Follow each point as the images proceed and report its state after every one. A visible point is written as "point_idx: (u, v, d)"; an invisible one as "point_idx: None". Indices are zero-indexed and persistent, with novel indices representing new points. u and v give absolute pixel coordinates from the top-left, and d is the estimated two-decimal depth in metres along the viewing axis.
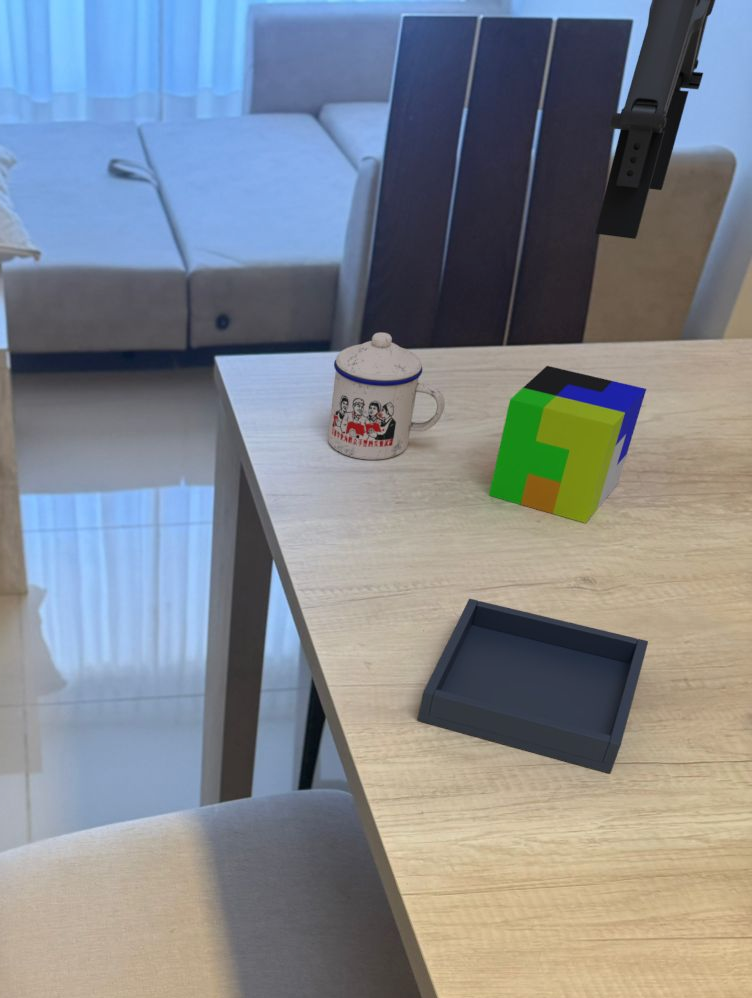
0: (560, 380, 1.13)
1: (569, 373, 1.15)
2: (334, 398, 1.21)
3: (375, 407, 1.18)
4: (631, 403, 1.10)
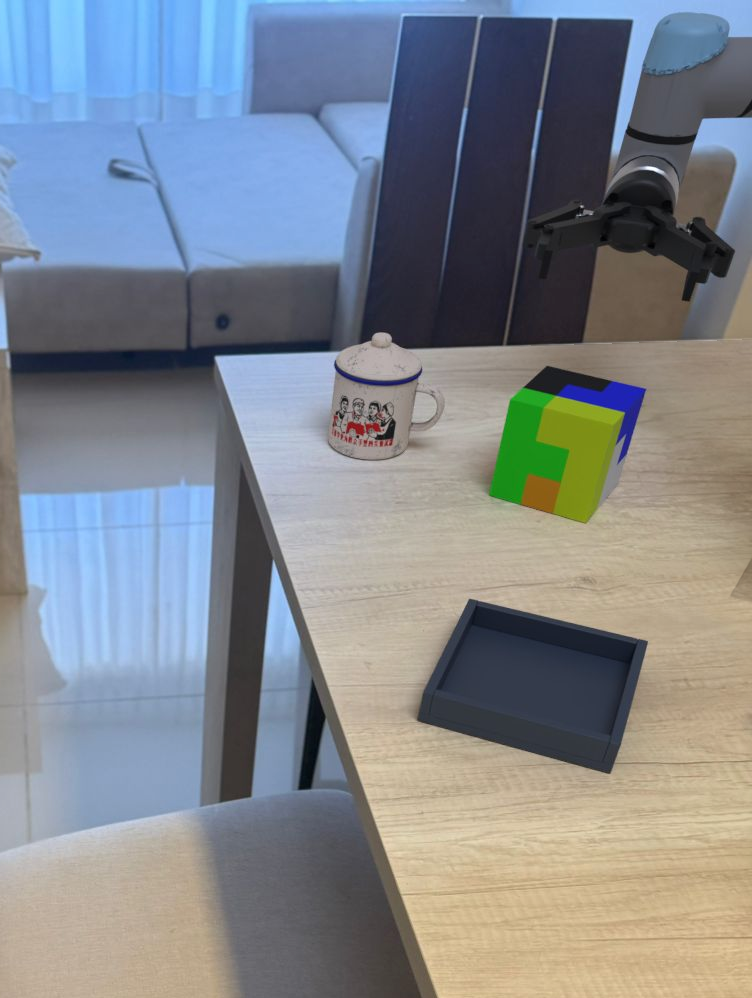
0: (560, 380, 1.13)
1: (569, 373, 1.15)
2: (334, 398, 1.21)
3: (375, 407, 1.18)
4: (631, 403, 1.10)
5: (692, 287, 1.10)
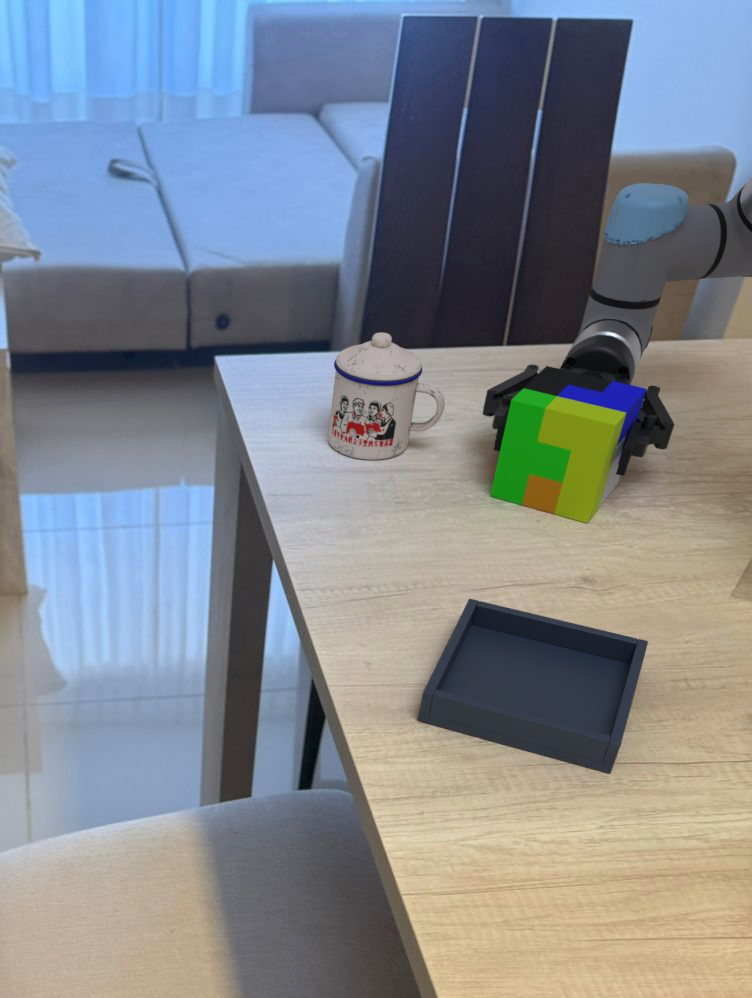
0: (561, 380, 1.13)
1: (569, 373, 1.15)
2: (334, 398, 1.21)
3: (375, 407, 1.18)
4: (632, 403, 1.10)
5: (626, 462, 1.09)
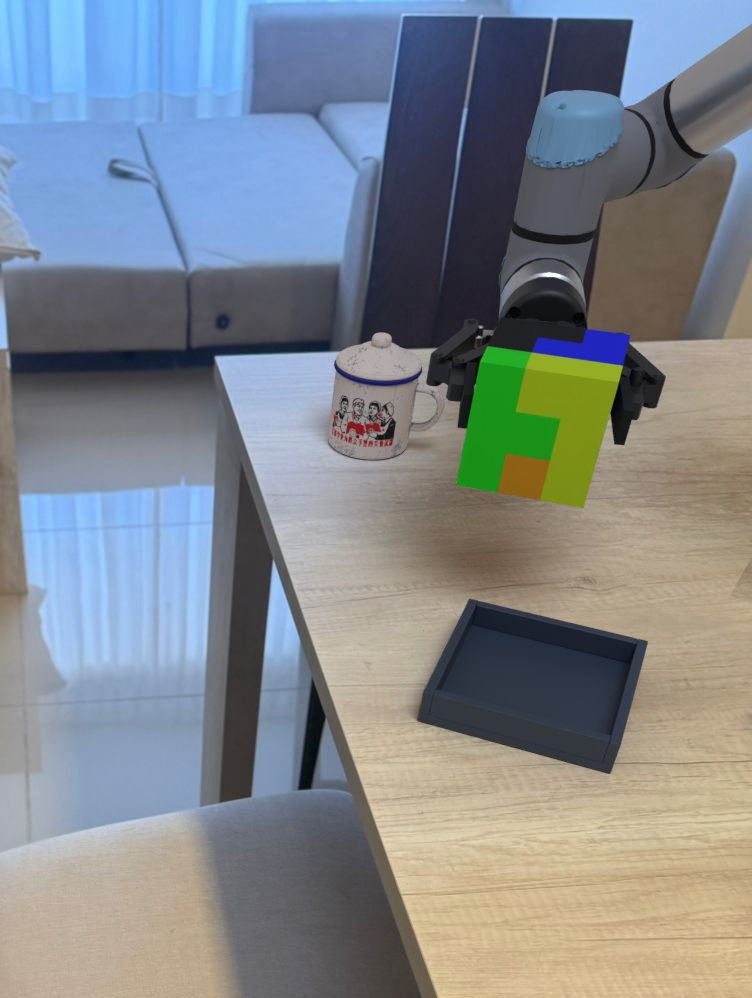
0: (527, 333, 0.90)
1: (532, 324, 0.92)
2: (334, 398, 1.21)
3: (375, 407, 1.18)
4: (623, 354, 0.87)
5: (626, 428, 0.87)
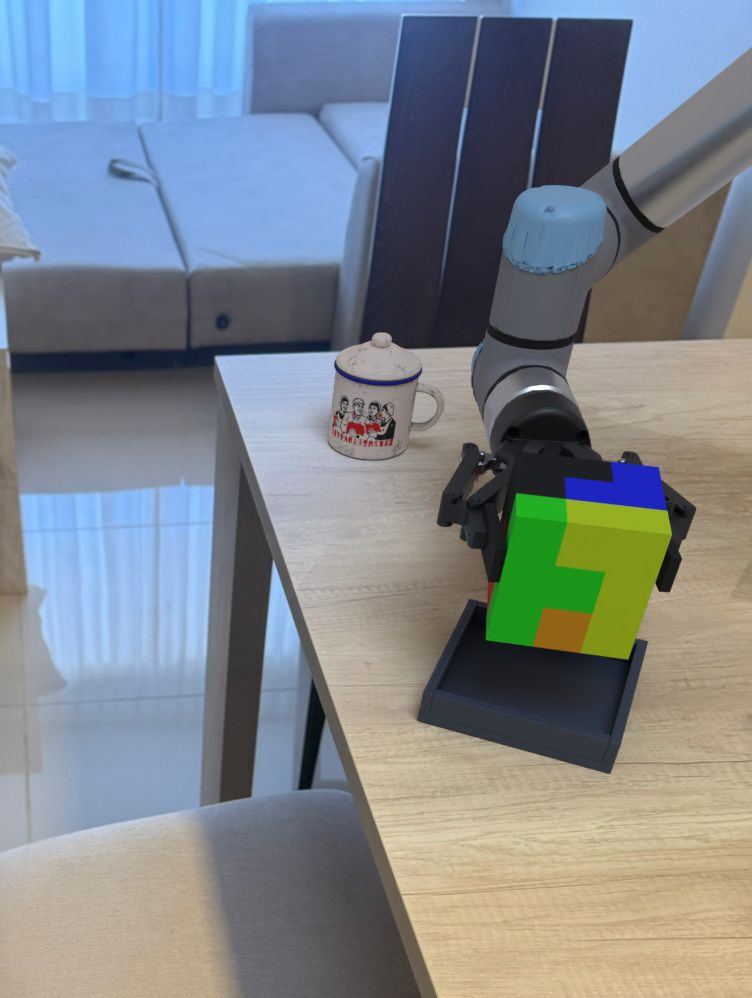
0: (551, 472, 0.82)
1: (552, 458, 0.84)
2: (334, 398, 1.21)
3: (375, 407, 1.18)
4: (662, 494, 0.80)
5: (673, 576, 0.80)
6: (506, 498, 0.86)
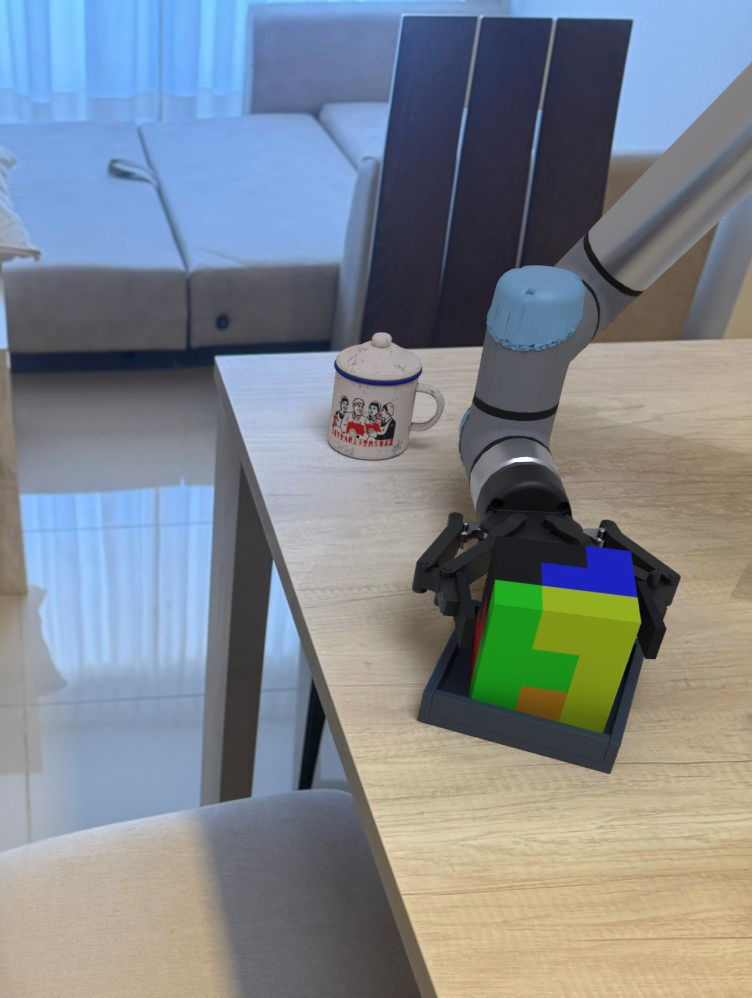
0: (529, 557, 0.87)
1: (530, 543, 0.88)
2: (334, 398, 1.21)
3: (375, 407, 1.18)
4: (633, 580, 0.85)
5: (658, 644, 0.84)
6: (487, 578, 0.91)
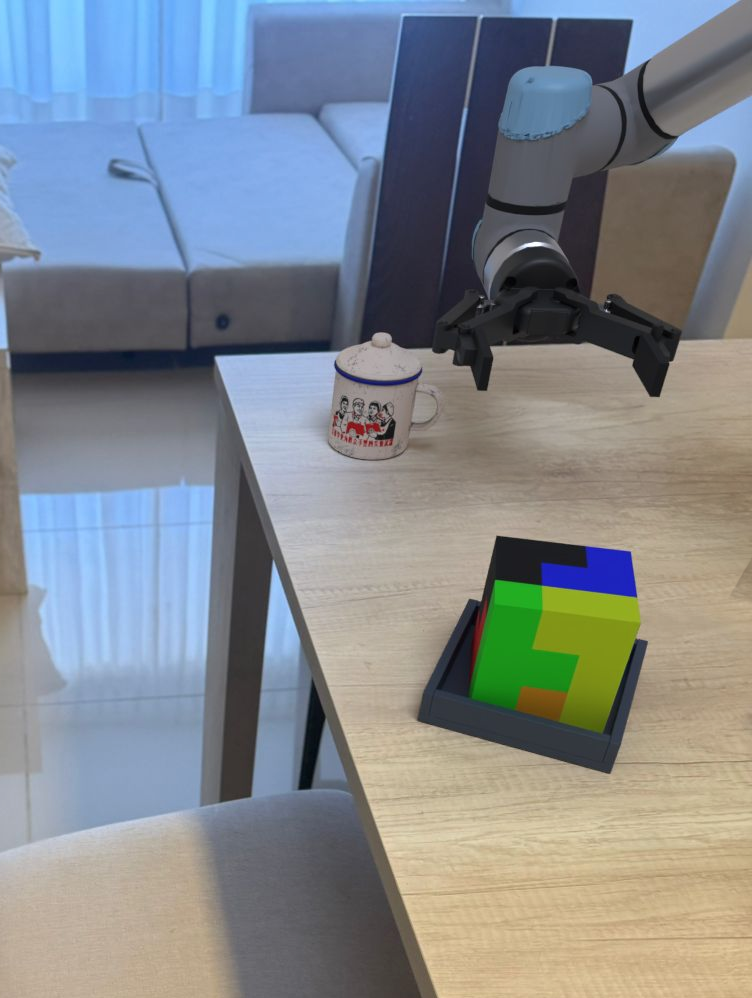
0: (529, 557, 0.87)
1: (530, 543, 0.88)
2: (334, 398, 1.21)
3: (375, 407, 1.18)
4: (633, 580, 0.85)
5: (662, 380, 0.91)
6: (487, 578, 0.91)
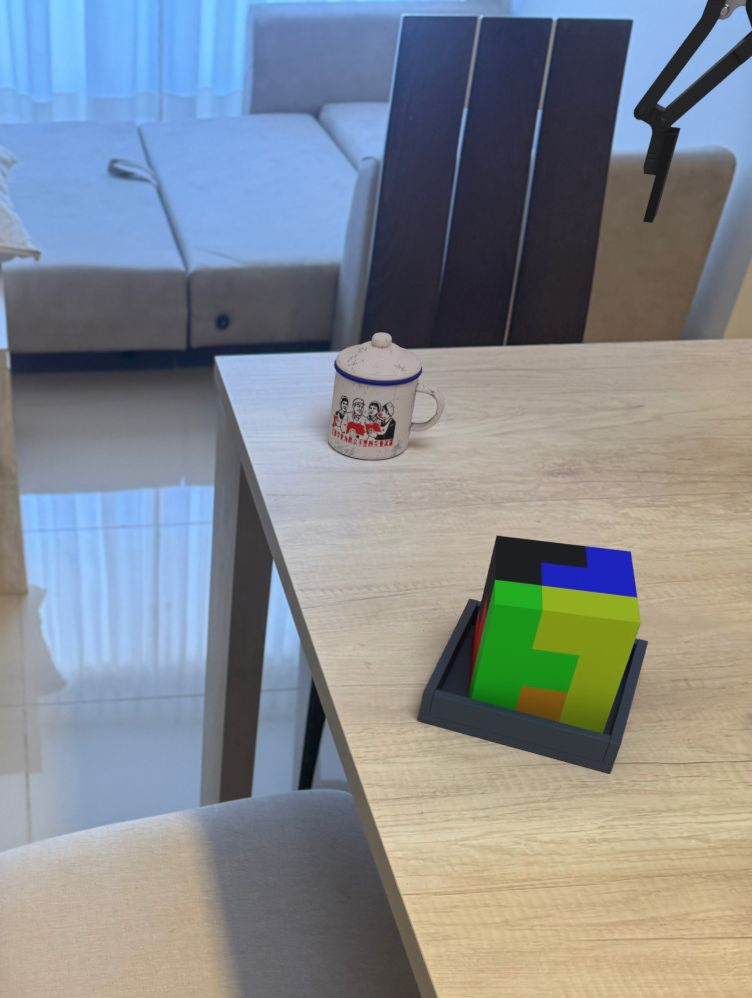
0: (529, 557, 0.87)
1: (530, 543, 0.88)
2: (334, 398, 1.21)
3: (375, 407, 1.18)
4: (633, 580, 0.85)
5: None
6: (487, 578, 0.91)
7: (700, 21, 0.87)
